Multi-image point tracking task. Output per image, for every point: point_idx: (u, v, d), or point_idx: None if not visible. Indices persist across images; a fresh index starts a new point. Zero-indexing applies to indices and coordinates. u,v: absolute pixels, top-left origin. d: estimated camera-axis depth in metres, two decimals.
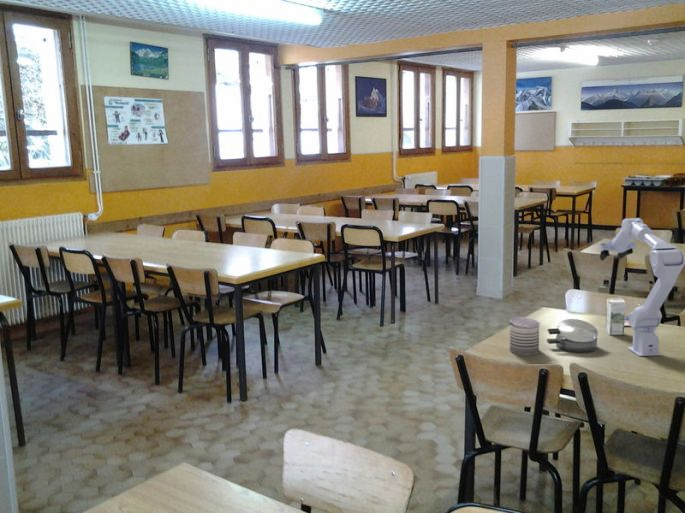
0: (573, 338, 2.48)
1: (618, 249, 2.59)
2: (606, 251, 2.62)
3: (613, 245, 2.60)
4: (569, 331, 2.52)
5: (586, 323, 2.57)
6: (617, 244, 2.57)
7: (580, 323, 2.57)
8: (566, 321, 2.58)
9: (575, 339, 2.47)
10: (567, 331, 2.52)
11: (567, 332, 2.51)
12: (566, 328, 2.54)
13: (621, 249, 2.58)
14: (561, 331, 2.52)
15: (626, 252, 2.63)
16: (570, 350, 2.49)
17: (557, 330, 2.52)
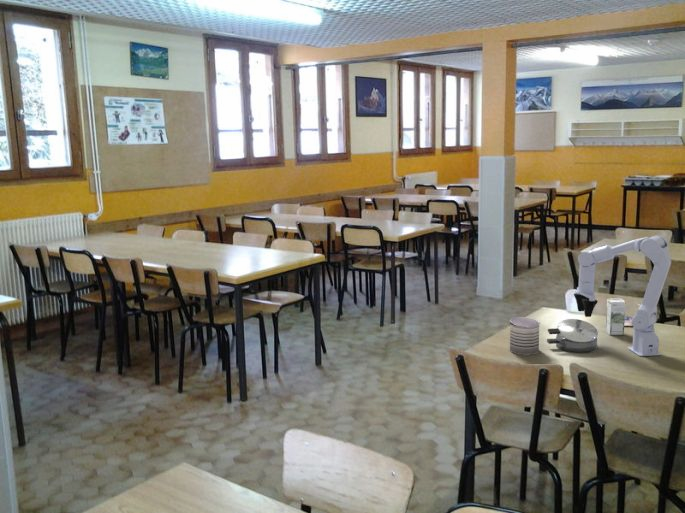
0: (573, 338, 2.48)
1: (593, 290, 2.57)
2: None
3: (589, 291, 2.56)
4: (569, 331, 2.52)
5: (586, 323, 2.57)
6: (592, 285, 2.56)
7: (580, 323, 2.57)
8: (566, 321, 2.58)
9: (575, 339, 2.47)
10: (567, 331, 2.52)
11: (567, 332, 2.51)
12: (566, 328, 2.54)
13: None
14: (561, 331, 2.52)
15: None
16: (570, 350, 2.49)
17: (557, 330, 2.52)
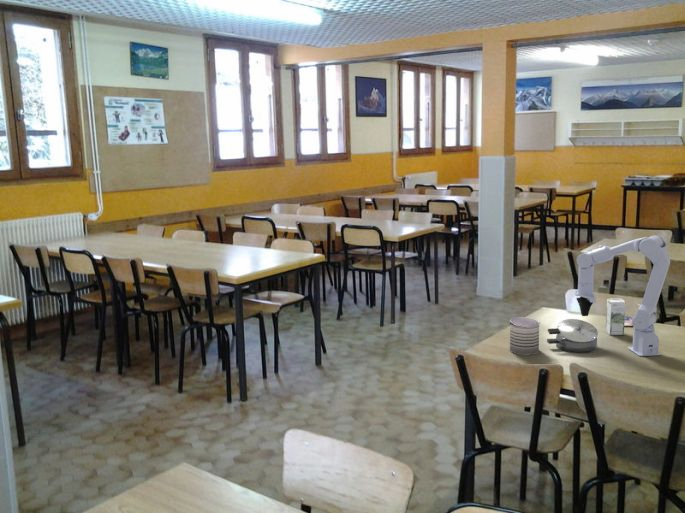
0: (573, 338, 2.48)
1: None
2: None
3: (589, 292, 2.56)
4: (569, 331, 2.52)
5: (586, 323, 2.57)
6: (591, 286, 2.56)
7: (580, 323, 2.57)
8: (566, 321, 2.58)
9: (575, 339, 2.47)
10: (567, 331, 2.52)
11: (567, 332, 2.51)
12: (566, 328, 2.54)
13: None
14: (561, 331, 2.52)
15: None
16: (570, 350, 2.49)
17: (557, 330, 2.52)
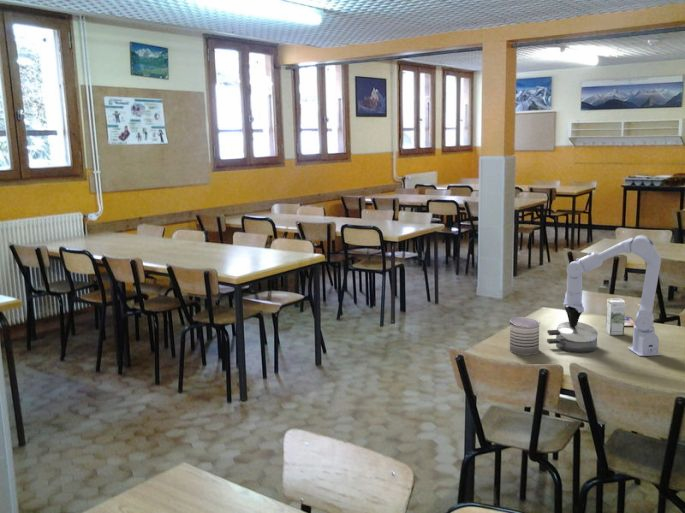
0: (573, 338, 2.48)
1: (581, 301, 2.54)
2: None
3: (577, 302, 2.52)
4: (569, 332, 2.53)
5: (586, 325, 2.57)
6: (580, 296, 2.52)
7: (580, 325, 2.57)
8: (566, 323, 2.59)
9: (575, 339, 2.48)
10: (567, 332, 2.52)
11: (567, 333, 2.52)
12: (566, 329, 2.54)
13: None
14: (561, 332, 2.52)
15: None
16: (570, 350, 2.49)
17: (557, 331, 2.53)
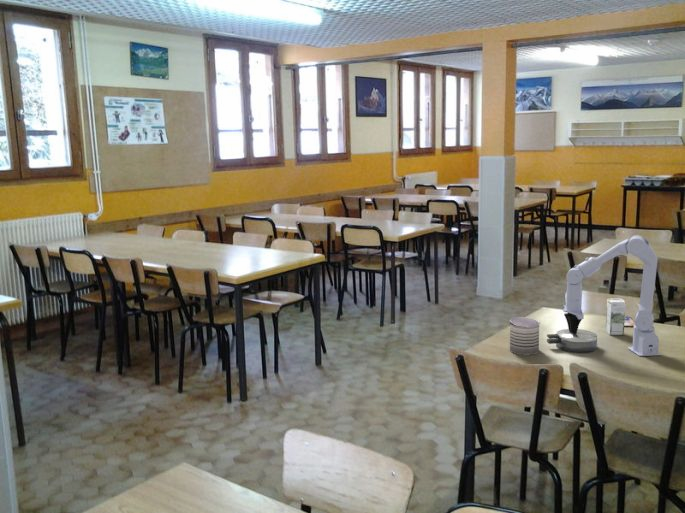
0: (573, 339, 2.48)
1: None
2: None
3: (577, 309, 2.53)
4: (568, 335, 2.53)
5: (585, 330, 2.58)
6: (580, 303, 2.53)
7: (579, 331, 2.58)
8: (565, 330, 2.60)
9: (575, 340, 2.48)
10: (566, 335, 2.53)
11: (566, 336, 2.52)
12: (565, 334, 2.55)
13: None
14: (560, 336, 2.53)
15: None
16: (570, 350, 2.49)
17: (556, 335, 2.53)
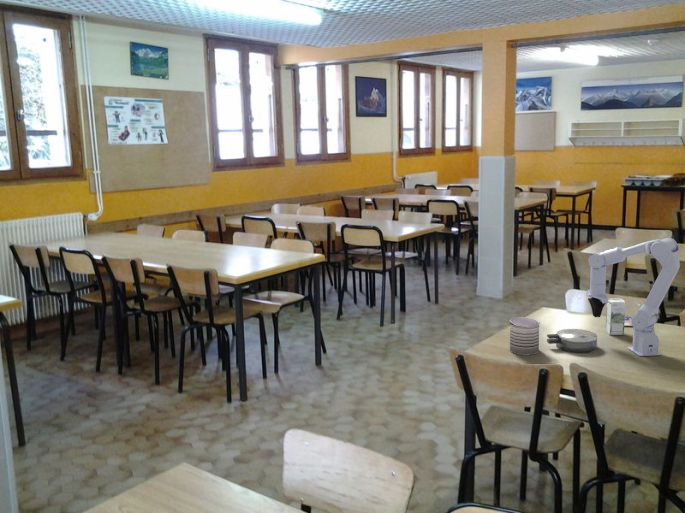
0: (573, 339, 2.48)
1: None
2: None
3: (601, 293, 2.54)
4: (568, 335, 2.53)
5: (585, 330, 2.58)
6: (604, 287, 2.54)
7: (579, 331, 2.58)
8: (565, 330, 2.60)
9: (575, 340, 2.48)
10: (566, 335, 2.53)
11: (566, 336, 2.52)
12: (565, 334, 2.55)
13: None
14: (560, 336, 2.53)
15: None
16: (570, 350, 2.49)
17: (556, 335, 2.53)
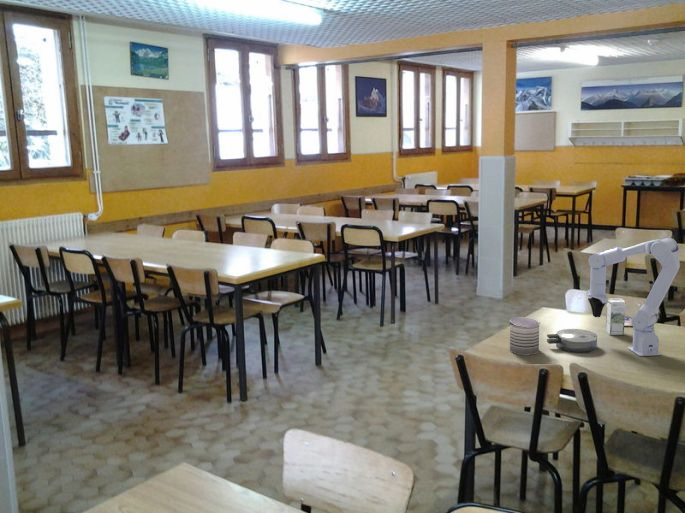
0: (573, 339, 2.48)
1: None
2: None
3: (601, 293, 2.54)
4: (568, 335, 2.53)
5: (585, 330, 2.58)
6: (604, 287, 2.54)
7: (579, 331, 2.58)
8: (565, 330, 2.60)
9: (575, 340, 2.48)
10: (566, 335, 2.53)
11: (566, 336, 2.52)
12: (565, 334, 2.55)
13: None
14: (560, 336, 2.53)
15: None
16: (570, 350, 2.49)
17: (556, 335, 2.53)
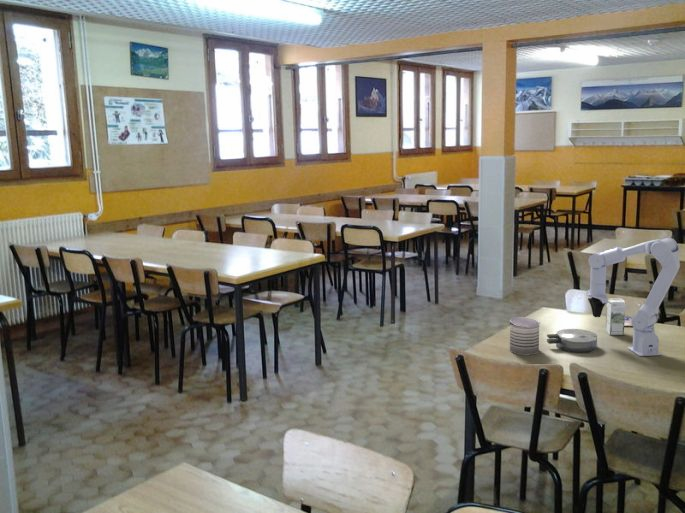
0: (573, 339, 2.48)
1: None
2: None
3: (601, 293, 2.54)
4: (568, 335, 2.53)
5: (585, 330, 2.58)
6: (604, 287, 2.54)
7: (579, 331, 2.58)
8: (565, 330, 2.60)
9: (575, 340, 2.48)
10: (566, 335, 2.53)
11: (566, 336, 2.52)
12: (565, 334, 2.55)
13: None
14: (560, 336, 2.53)
15: None
16: (570, 350, 2.49)
17: (556, 335, 2.53)
